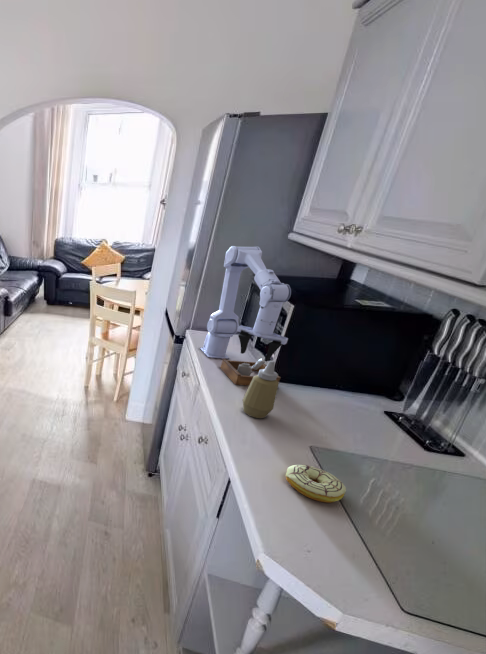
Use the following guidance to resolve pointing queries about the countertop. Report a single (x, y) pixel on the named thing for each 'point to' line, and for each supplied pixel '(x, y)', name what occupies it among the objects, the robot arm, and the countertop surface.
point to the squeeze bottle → (261, 392)
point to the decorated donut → (315, 483)
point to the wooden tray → (234, 375)
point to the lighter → (249, 367)
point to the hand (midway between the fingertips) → (254, 356)
